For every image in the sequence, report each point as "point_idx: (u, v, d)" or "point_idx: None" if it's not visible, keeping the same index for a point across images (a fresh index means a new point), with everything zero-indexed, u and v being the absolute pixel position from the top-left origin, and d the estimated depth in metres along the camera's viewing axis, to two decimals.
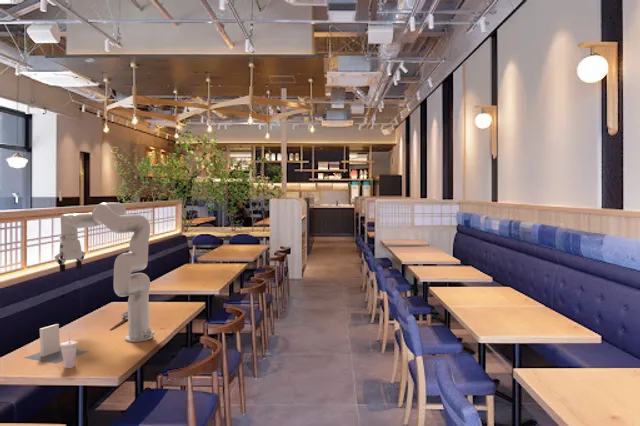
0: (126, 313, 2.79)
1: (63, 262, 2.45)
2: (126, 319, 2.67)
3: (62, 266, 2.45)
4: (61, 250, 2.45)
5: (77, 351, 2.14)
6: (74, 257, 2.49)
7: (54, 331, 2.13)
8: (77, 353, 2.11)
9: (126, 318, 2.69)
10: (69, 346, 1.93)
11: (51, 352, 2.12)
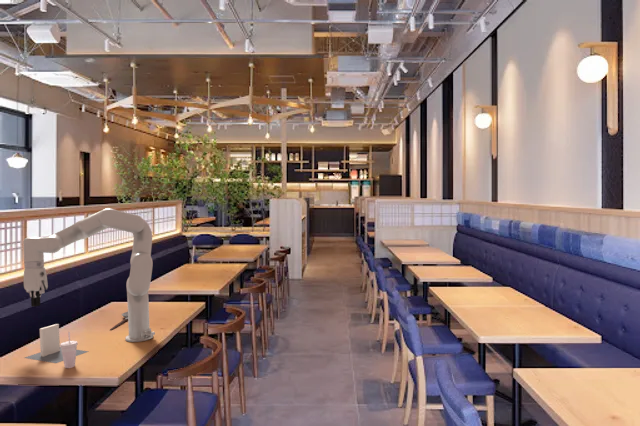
0: (126, 313, 2.79)
1: None
2: (126, 319, 2.67)
3: None
4: (42, 279, 2.12)
5: (77, 351, 2.14)
6: None
7: (54, 331, 2.13)
8: (77, 353, 2.11)
9: (126, 318, 2.68)
10: (69, 346, 1.93)
11: (51, 352, 2.12)
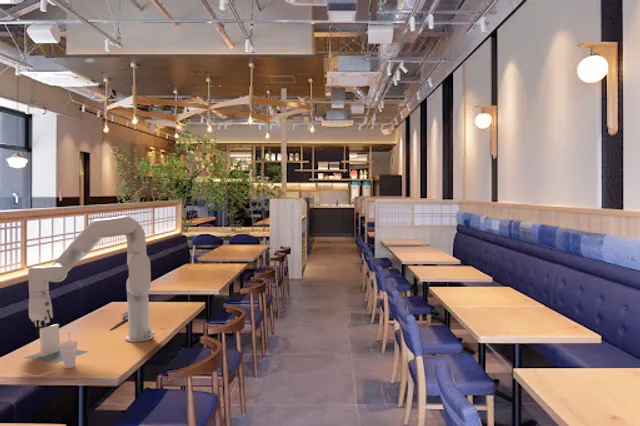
0: (126, 313, 2.78)
1: None
2: (126, 319, 2.67)
3: None
4: (47, 308, 2.12)
5: (77, 351, 2.14)
6: None
7: (54, 331, 2.13)
8: (77, 353, 2.11)
9: (126, 318, 2.68)
10: (69, 346, 1.93)
11: (51, 352, 2.12)
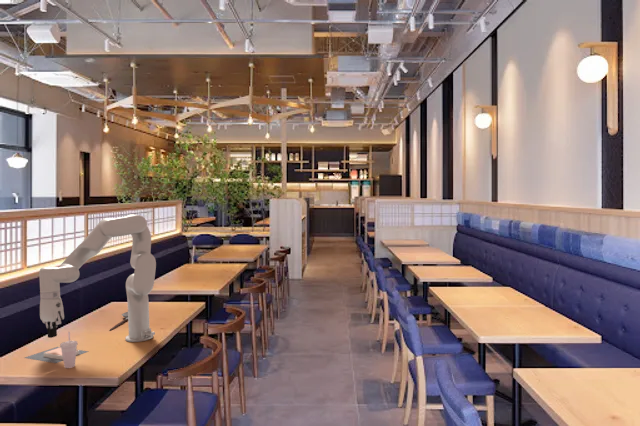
0: (126, 313, 2.78)
1: (56, 324, 2.12)
2: (126, 319, 2.67)
3: None
4: (58, 309, 2.09)
5: None
6: None
7: None
8: None
9: (126, 318, 2.68)
10: (69, 346, 1.93)
11: None
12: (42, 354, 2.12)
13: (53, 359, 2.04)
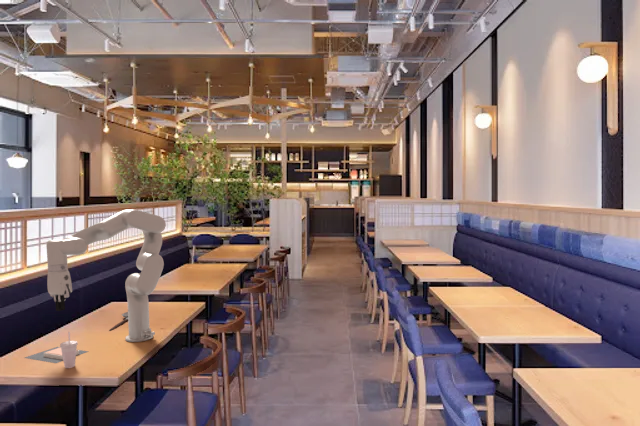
0: (126, 313, 2.78)
1: None
2: (126, 319, 2.66)
3: (63, 303, 2.09)
4: (66, 282, 2.06)
5: None
6: None
7: None
8: None
9: (126, 318, 2.68)
10: (69, 346, 1.93)
11: None
12: (42, 354, 2.12)
13: (53, 359, 2.04)
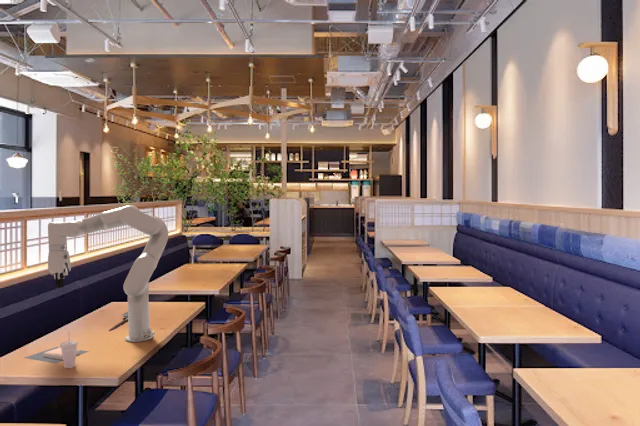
0: (127, 313, 2.78)
1: None
2: (126, 319, 2.66)
3: (62, 280, 2.26)
4: (65, 261, 2.23)
5: None
6: None
7: None
8: None
9: (126, 318, 2.67)
10: (69, 346, 1.93)
11: None
12: (42, 354, 2.12)
13: (53, 359, 2.04)
